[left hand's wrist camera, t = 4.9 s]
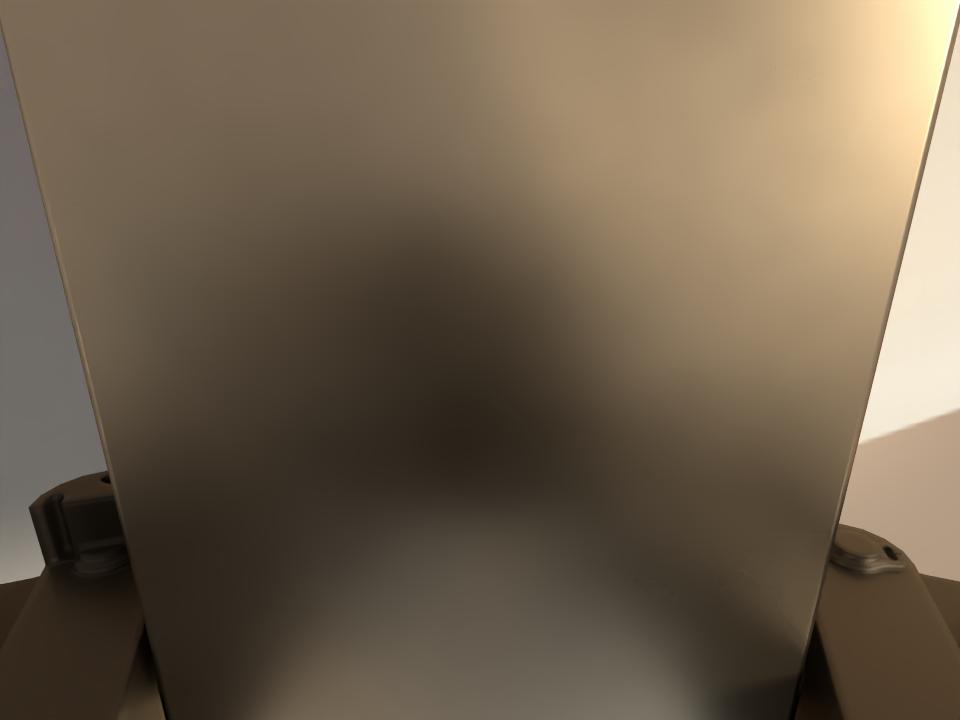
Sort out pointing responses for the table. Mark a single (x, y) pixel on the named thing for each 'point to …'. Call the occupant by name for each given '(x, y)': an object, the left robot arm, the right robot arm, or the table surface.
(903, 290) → the table surface
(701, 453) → the box
